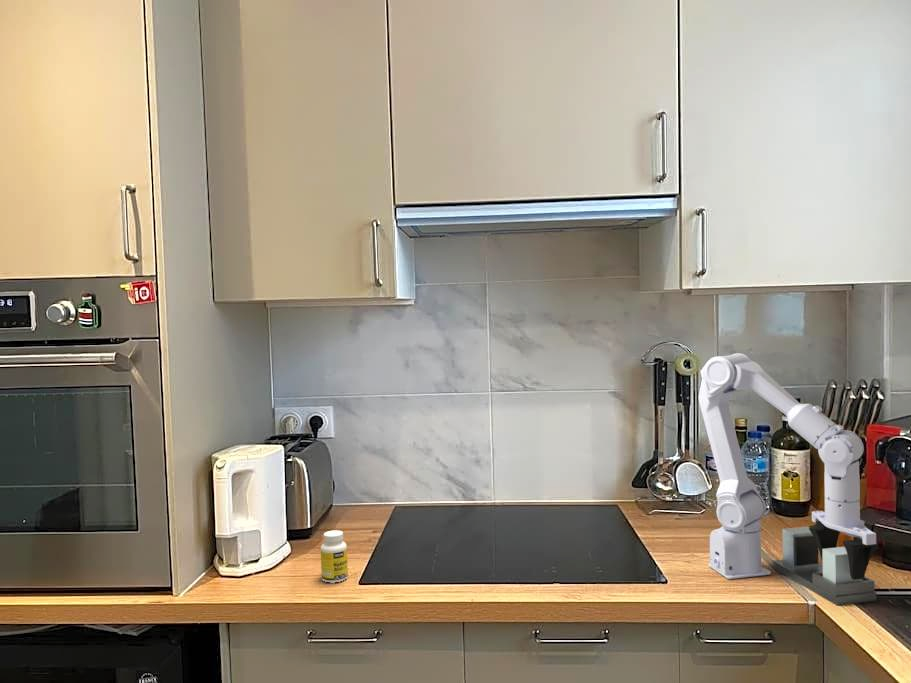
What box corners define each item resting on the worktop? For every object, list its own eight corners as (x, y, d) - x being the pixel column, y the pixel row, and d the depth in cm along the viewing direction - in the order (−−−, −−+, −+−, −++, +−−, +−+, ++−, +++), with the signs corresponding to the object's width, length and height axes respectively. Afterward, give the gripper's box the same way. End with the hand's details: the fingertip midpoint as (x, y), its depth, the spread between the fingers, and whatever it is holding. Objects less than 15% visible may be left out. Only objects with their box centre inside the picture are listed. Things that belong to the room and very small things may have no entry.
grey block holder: (836, 605, 130) (836, 558, 129) (772, 567, 148) (772, 527, 148) (876, 600, 131) (875, 554, 131) (807, 564, 150) (807, 523, 149)
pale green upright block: (862, 590, 132) (862, 552, 132) (835, 593, 131) (835, 555, 131) (847, 582, 136) (847, 545, 136) (821, 585, 135) (821, 548, 135)
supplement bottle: (335, 586, 148) (333, 538, 147) (316, 581, 151) (314, 534, 150) (353, 577, 152) (351, 531, 152) (334, 572, 155) (332, 527, 155)
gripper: (891, 507, 126) (891, 583, 127) (834, 486, 141) (835, 555, 141) (855, 510, 125) (856, 587, 126) (801, 489, 139) (802, 559, 140)
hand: (842, 570), depth 133 cm, fingers open, 7 cm apart
